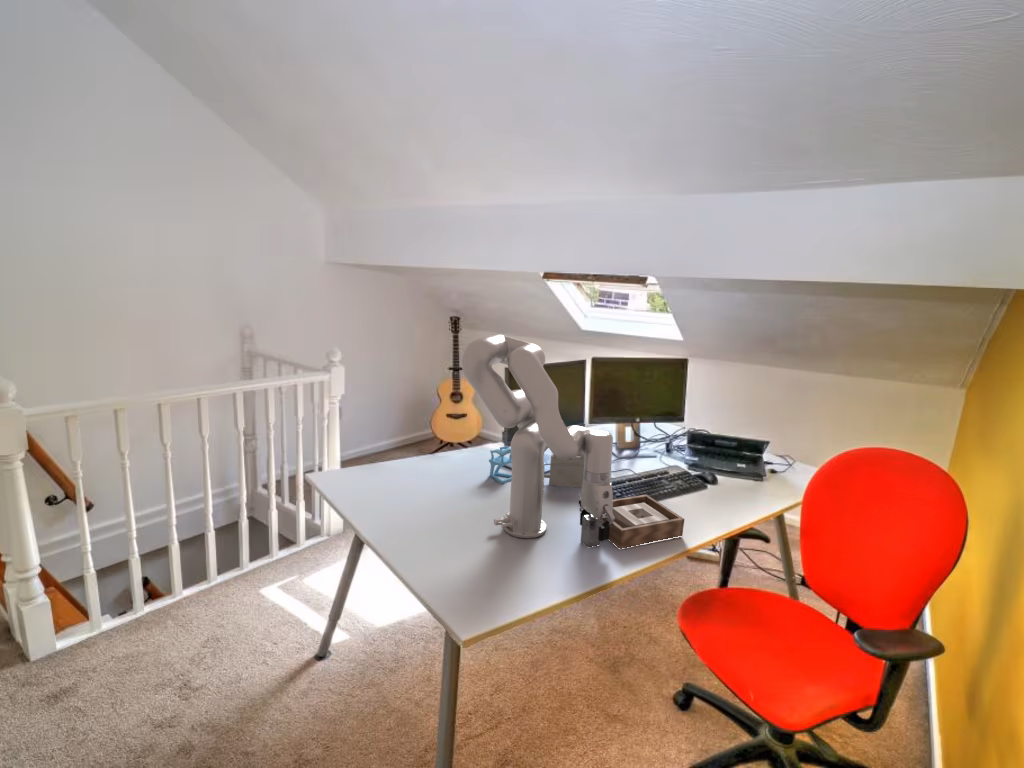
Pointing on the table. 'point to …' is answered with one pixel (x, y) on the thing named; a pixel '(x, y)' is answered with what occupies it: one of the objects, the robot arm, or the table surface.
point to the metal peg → (590, 531)
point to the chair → (500, 463)
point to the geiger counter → (566, 471)
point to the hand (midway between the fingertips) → (594, 532)
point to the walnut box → (642, 522)
